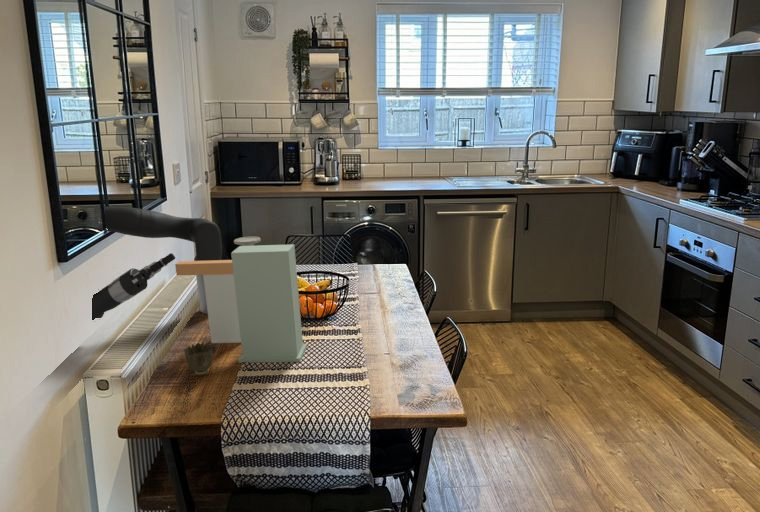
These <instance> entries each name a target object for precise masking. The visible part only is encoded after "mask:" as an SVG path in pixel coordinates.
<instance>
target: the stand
mask: <svg viewBox="0 0 760 512" xmlns="http://www.w3.org/2000/svg"><path fill="white" fill-rule="evenodd" d="M295 247H296V246H295V244H294V243H293V244H292V243H291V244H290V243H289V244H265V245H263V244H262V245H261V244H260V245H259V244H258V245H254V246H241V245H239V246H237V247H236V248H235V249H234V250H233V251H232V252H231V253H230V256H231V260H232V265H233V274H234V283H235V292H236V301H237V310H238V319H239V328H240V337H241V343H240V344H241V352H242V353H241V355H240V356H239V357H238V358H237V363H238V364H239V363H242V362H250V363H288V362H289V363H298V362H301V361H302V359H303V357H304V354H305V352H306V350H307V348H308V343H303V341H304V339H303V331H302V330H303V329H302V319H301V308H300V294H299V284H298V283H299V282H298V274H297V273H298V272H297V259H296V250H295V249H296V248H295ZM242 364H243V363H242Z"/></svg>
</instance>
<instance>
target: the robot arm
mask: <svg viewBox="0 0 760 512" xmlns="http://www.w3.org/2000/svg"><path fill="white" fill-rule="evenodd" d="M105 207H106V210H105V222H106V226H107V229H108V230H107V231H109V232H113V233H114V232H115V233H118V234H122V235H127V236H132V237H139V238H146V239H163V238H164V239H165V238H173V239H174V238H175V239H181V240H185V241H190V242H191V243H192V242H193V243H194V245H195V247H194V248H195V257H194V259H193V261H210V260H222V255H223V245H222V235H221V229H220V227H219V226H218V224H217V223H215V222H214V221H213V220H209V219H207V218H202V217H201V218H199V217H198V218H196V217H181V216H180V217H179V216H174V215H171V214H168V213H167V214H166V213H163V212H159V211H155V210H151V209H150V210H149V209H143V208H139V207H138V208H137V207H124V206H105ZM175 259H176V256H175V255H174V253H172V252H171V253H169V254H167V255H166V256H164V257H162V258H159V260H157V261H153V262H151V263H150V264H148V265H146V266H144V267H142V268H141V269H137V268H130V269H129V270H127V271H125V272H124V273H122V274H121V275H120V276H117V278H115V279H113V280H112V282H111V283H109V284H107V285H106V286H105V287H103V288H101V289H100V290H99V292H98V293H96V294H94V295H93V298H92V320H94V319H95V318H101V319H102V318H103V317H104V314H105V313H106V312H108V311H110V310H111V311H112V310H113V309H116V308H117V307H118V306H120V305H121V304H123V303H124V302H126V301H129V300H130V299H132V298H134V297H135V296H137V295H138V294H140V293H141V292H143V291H144V290H146V289H147V288H148V281H149V280H151V279H152V278H153V277H155V275H156V274H159V273H160V272H161V271H162V269H163V268H165V267H166V266H168V264H169V263H171V262H173V261H175ZM195 277H196V278H195V279H196V285H197V292H198V293H197V294H198V301H199V309H200V313H201V312H202V313H201V314H207V315H208V311H207V303H206V294H205V286H204V278H203V275H195Z"/></svg>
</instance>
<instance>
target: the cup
mask: <svg viewBox="0 0 760 512" xmlns="http://www.w3.org/2000/svg"><path fill="white" fill-rule="evenodd" d="M212 344H213V343H207V344H204V343H203V342H201V343H200V342H197V343H195V344H193V343H192V344H191V346H190V345H187V347H185V348H184V350H183V351H184V356H185V359H186V362H187V366H188V367H189V369H190V370H191V371H193V372H194V375H195V376H196V377H204V376H206V375H208V374H209V369H210V368H211V366H212V364H213V345H212Z"/></svg>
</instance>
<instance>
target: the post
mask: <svg viewBox="0 0 760 512" xmlns="http://www.w3.org/2000/svg"><path fill="white" fill-rule="evenodd" d="M203 278H204V286H205V294H206V303H207V311H208V314H207V317H208V318H207V319H208V325H209V332H210V333H209V334H210V341H211V343H210V344H241V337H240V328H239V319H238V310H237V301H236V292H235V283H234V274H211V275H203Z"/></svg>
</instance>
